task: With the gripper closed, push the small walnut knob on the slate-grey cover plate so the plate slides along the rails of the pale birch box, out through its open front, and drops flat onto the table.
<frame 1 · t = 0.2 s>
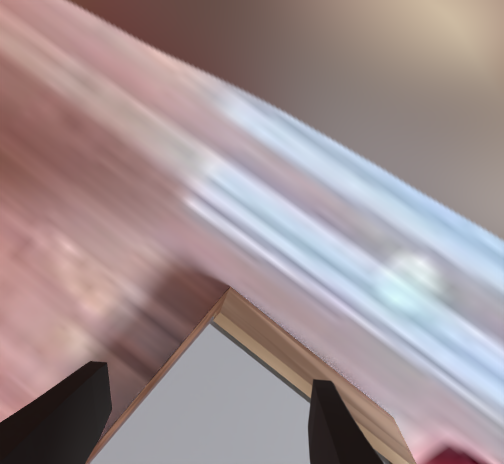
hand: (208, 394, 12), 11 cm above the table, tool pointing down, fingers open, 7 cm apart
birch box: (236, 434, 24), on the table
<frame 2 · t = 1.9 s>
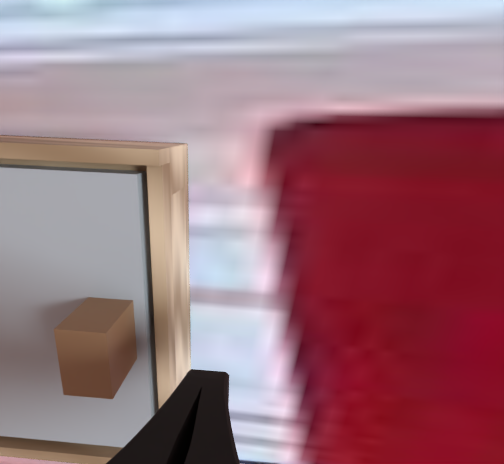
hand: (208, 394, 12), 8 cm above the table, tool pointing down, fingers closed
birch box: (68, 283, 20), on the table
cover plate: (22, 309, 17), point 3 cm above the table, touching birch box
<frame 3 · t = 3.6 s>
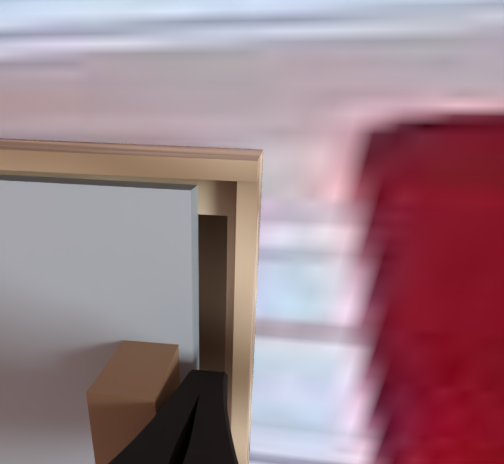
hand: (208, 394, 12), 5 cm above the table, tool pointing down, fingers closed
birch box: (110, 313, 17), on the table
cover plate: (39, 349, 14), point 3 cm above the table, touching birch box, gripper
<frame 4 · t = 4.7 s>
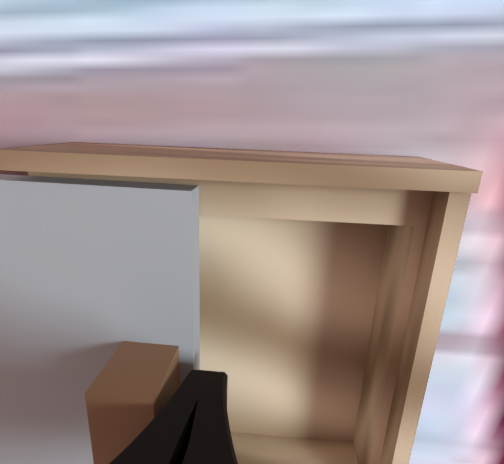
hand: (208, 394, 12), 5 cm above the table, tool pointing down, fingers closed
birch box: (237, 322, 16), on the table
cover plate: (40, 349, 14), point 3 cm above the table, touching birch box, gripper
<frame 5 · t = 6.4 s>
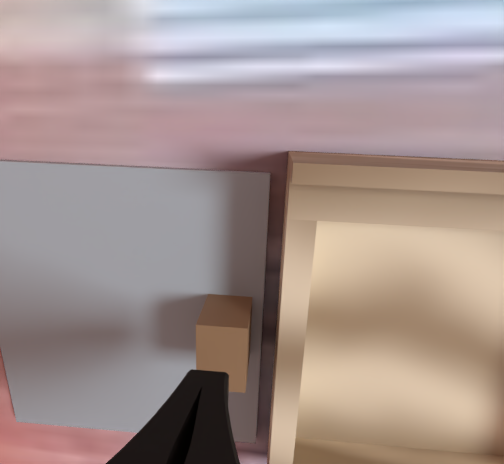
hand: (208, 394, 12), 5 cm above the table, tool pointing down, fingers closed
birch box: (428, 336, 16), on the table
cover plate: (132, 306, 17), on the table
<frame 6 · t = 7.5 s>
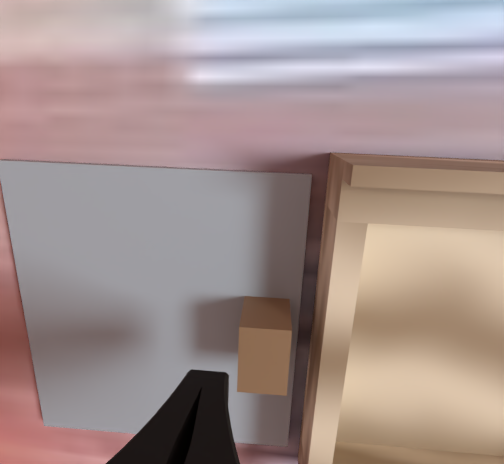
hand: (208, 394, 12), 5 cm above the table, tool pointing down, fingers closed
birch box: (466, 339, 16), on the table
cover plate: (164, 308, 17), on the table
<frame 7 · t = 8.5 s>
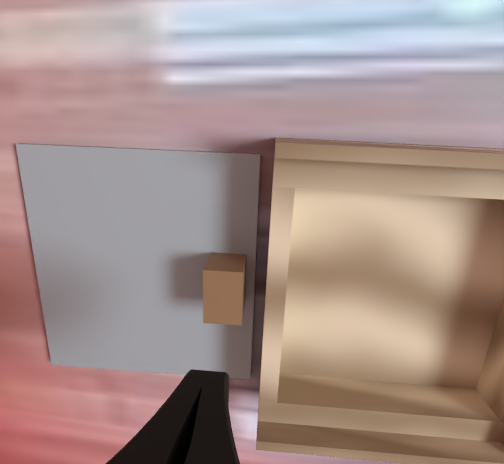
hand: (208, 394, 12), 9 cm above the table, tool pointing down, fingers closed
birch box: (388, 287, 20), on the table
cover plate: (149, 265, 21), on the table
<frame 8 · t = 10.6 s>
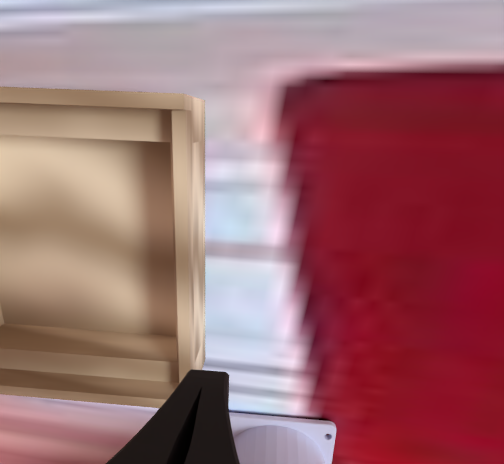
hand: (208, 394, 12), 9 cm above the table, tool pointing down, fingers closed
birch box: (89, 238, 21), on the table
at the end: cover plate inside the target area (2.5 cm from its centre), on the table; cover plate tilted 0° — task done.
